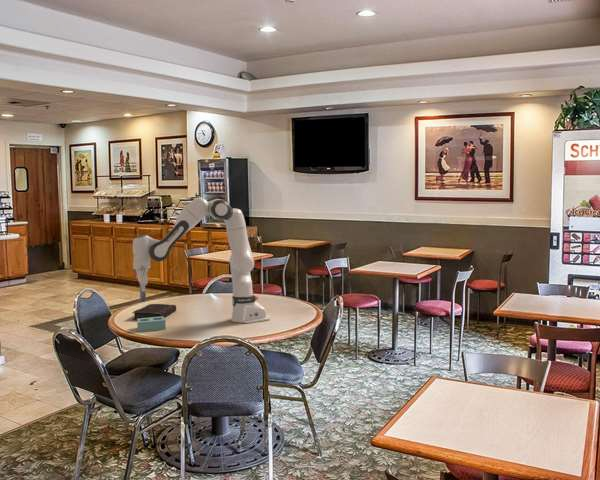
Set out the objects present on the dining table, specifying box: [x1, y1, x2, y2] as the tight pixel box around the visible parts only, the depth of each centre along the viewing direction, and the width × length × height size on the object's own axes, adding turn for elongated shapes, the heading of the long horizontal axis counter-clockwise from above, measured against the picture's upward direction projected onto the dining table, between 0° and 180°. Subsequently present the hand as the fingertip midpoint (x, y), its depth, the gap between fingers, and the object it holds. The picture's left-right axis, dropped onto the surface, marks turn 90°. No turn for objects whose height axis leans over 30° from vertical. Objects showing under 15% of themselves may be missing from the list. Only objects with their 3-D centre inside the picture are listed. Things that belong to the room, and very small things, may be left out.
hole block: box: [136, 316, 167, 333], centre depth 312 cm, size 14×10×5 cm
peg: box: [139, 283, 147, 302], centre depth 309 cm, size 3×3×12 cm
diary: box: [131, 303, 177, 321], centre depth 344 cm, size 19×25×5 cm
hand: (142, 290), depth 309 cm, fingers closed on peg, 3 cm apart
